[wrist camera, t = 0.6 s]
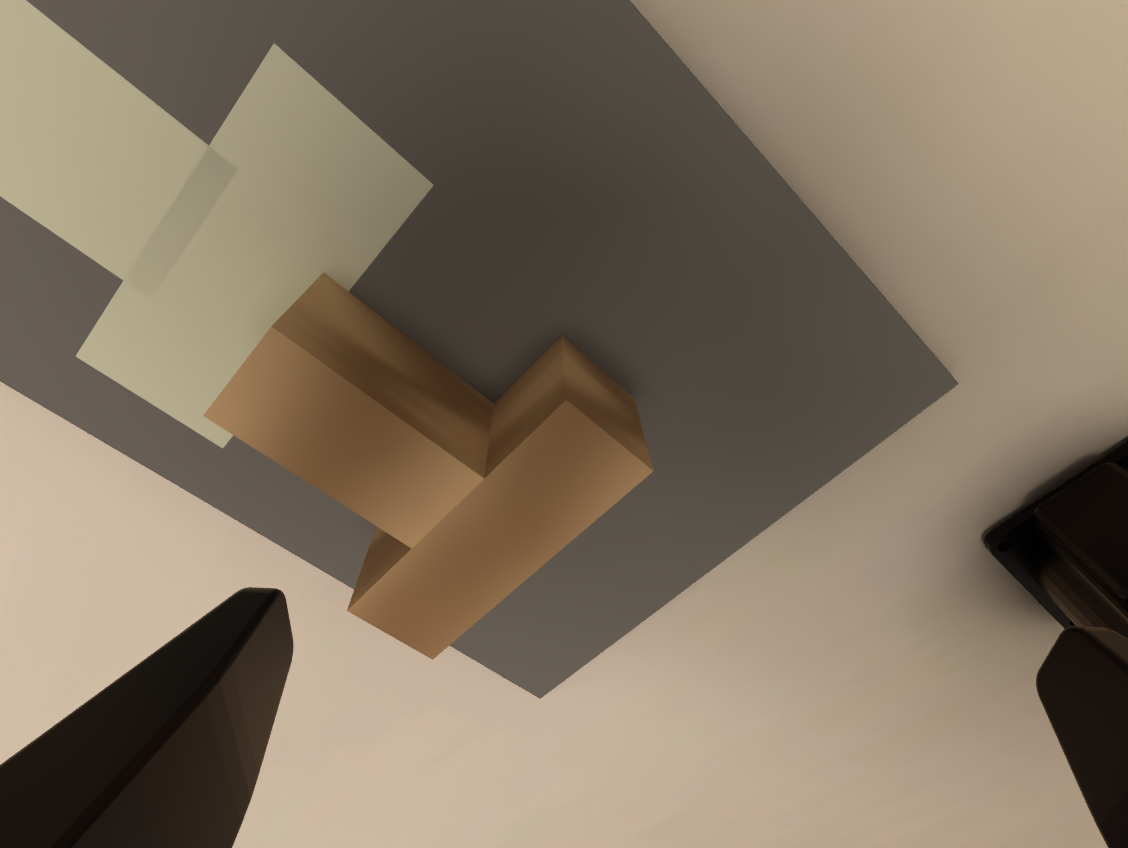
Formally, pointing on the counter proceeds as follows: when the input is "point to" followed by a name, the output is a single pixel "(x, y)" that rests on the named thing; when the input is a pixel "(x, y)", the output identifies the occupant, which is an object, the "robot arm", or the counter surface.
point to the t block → (434, 457)
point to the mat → (435, 264)
